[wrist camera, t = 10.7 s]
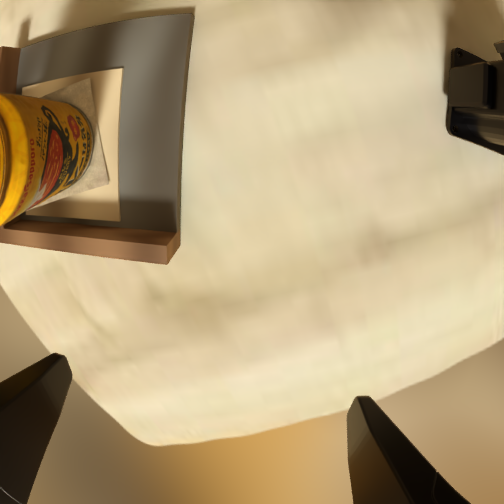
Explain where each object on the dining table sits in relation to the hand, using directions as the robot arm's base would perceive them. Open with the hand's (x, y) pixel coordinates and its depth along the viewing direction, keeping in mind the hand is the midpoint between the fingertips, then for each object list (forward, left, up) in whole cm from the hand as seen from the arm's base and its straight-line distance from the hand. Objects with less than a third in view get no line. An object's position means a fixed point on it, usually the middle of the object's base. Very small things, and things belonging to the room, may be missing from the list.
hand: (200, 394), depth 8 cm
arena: (+11, -7, -13) cm, 18 cm away
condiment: (+13, -6, -11) cm, 18 cm away
